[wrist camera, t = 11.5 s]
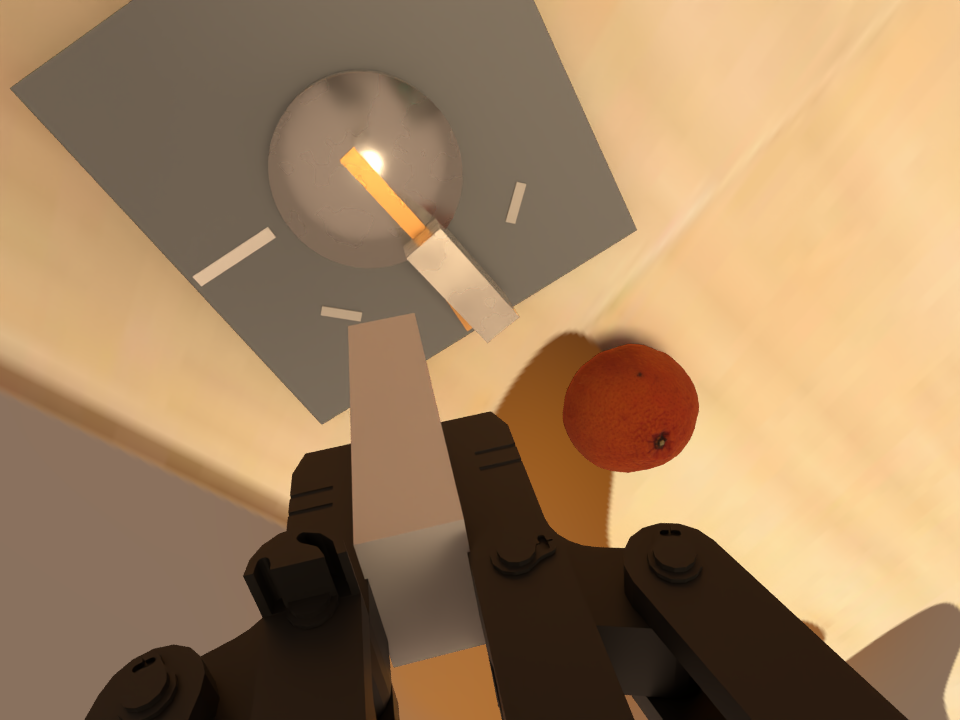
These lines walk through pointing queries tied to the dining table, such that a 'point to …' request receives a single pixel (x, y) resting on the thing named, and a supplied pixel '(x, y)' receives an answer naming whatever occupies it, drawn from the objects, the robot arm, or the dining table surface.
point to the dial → (380, 187)
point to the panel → (246, 143)
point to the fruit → (630, 409)
